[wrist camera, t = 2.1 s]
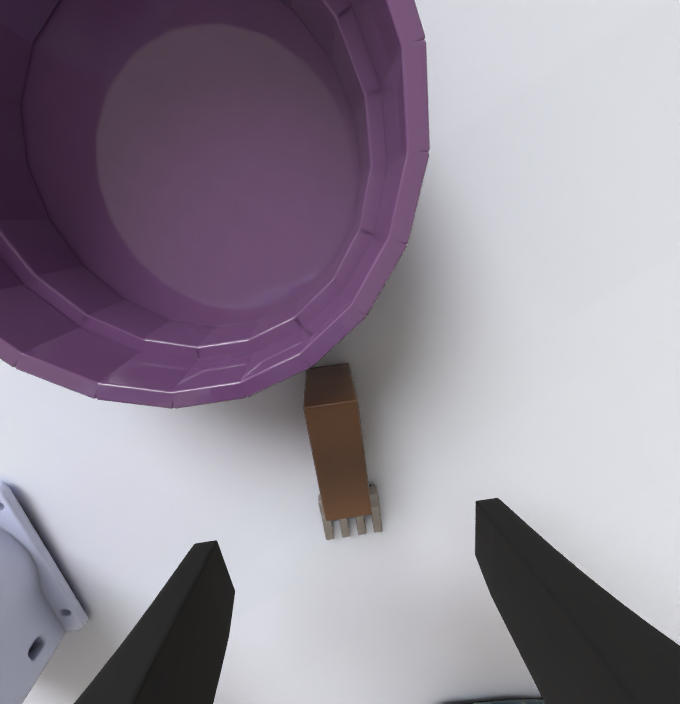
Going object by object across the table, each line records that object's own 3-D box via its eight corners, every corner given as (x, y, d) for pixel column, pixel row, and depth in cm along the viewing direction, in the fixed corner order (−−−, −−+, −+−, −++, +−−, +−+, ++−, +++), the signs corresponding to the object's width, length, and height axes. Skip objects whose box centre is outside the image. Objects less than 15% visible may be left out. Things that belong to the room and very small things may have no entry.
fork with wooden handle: (293, 370, 14) (287, 409, 11) (361, 360, 14) (372, 396, 11) (325, 531, 17) (327, 596, 14) (380, 523, 17) (393, 585, 14)
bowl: (396, 320, 14) (438, 370, 9) (95, 364, 13) (-23, 438, 9) (364, -101, 9) (411, -424, 5) (-77, -43, 9) (-481, -317, 5)
